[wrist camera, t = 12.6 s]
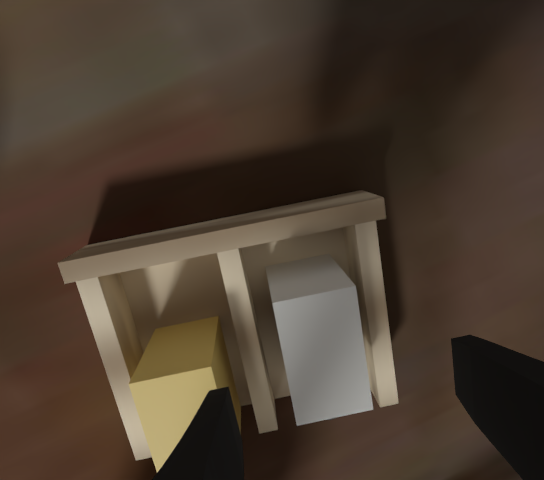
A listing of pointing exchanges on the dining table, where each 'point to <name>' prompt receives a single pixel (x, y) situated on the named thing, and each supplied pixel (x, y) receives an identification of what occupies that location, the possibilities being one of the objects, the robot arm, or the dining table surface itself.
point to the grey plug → (320, 338)
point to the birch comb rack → (230, 294)
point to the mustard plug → (179, 381)
